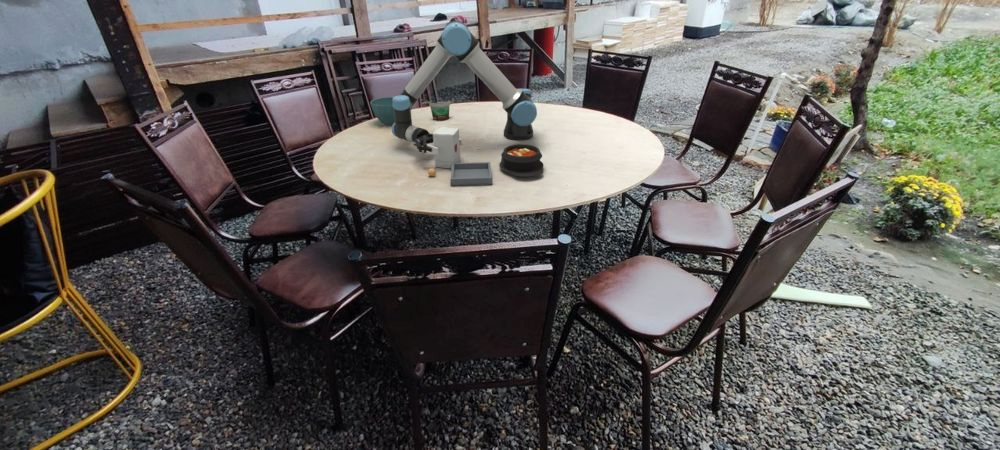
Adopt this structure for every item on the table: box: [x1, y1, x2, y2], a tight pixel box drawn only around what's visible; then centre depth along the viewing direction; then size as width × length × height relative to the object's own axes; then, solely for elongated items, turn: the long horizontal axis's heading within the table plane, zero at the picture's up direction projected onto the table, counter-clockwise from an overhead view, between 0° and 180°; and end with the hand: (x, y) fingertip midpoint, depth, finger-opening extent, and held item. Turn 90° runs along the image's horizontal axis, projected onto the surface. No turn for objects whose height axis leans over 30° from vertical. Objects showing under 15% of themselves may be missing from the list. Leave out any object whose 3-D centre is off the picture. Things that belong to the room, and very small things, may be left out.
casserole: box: [499, 143, 544, 178], centre depth 175 cm, size 25×19×8 cm
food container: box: [428, 99, 451, 122], centre depth 234 cm, size 12×6×10 cm, turn 117°
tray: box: [450, 161, 493, 187], centre depth 169 cm, size 16×16×3 cm
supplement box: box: [432, 126, 461, 169], centre depth 178 cm, size 9×9×15 cm
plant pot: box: [370, 96, 395, 126], centre depth 228 cm, size 18×18×12 cm
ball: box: [427, 168, 437, 177], centre depth 170 cm, size 3×3×3 cm
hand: (450, 147), depth 176 cm, fingers open, 13 cm apart
